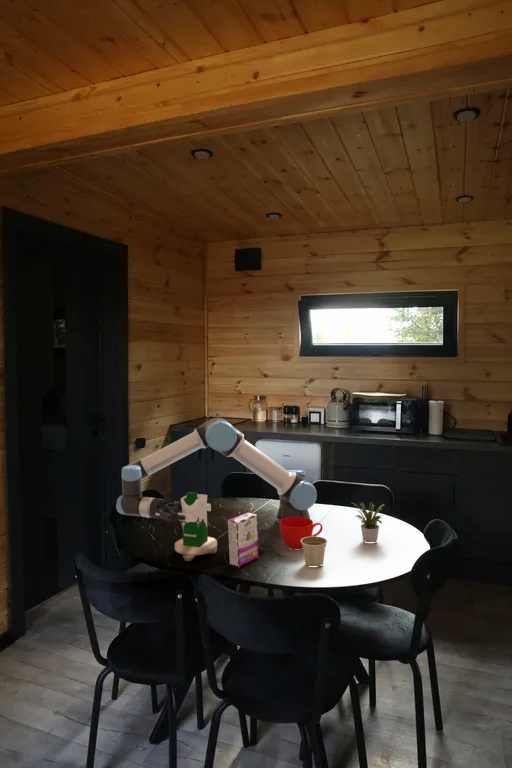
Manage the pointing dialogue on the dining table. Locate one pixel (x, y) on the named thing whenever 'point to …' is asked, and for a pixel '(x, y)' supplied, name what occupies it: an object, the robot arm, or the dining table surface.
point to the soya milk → (195, 530)
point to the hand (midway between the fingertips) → (202, 512)
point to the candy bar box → (243, 539)
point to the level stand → (196, 548)
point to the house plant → (369, 523)
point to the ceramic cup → (296, 530)
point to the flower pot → (314, 550)
